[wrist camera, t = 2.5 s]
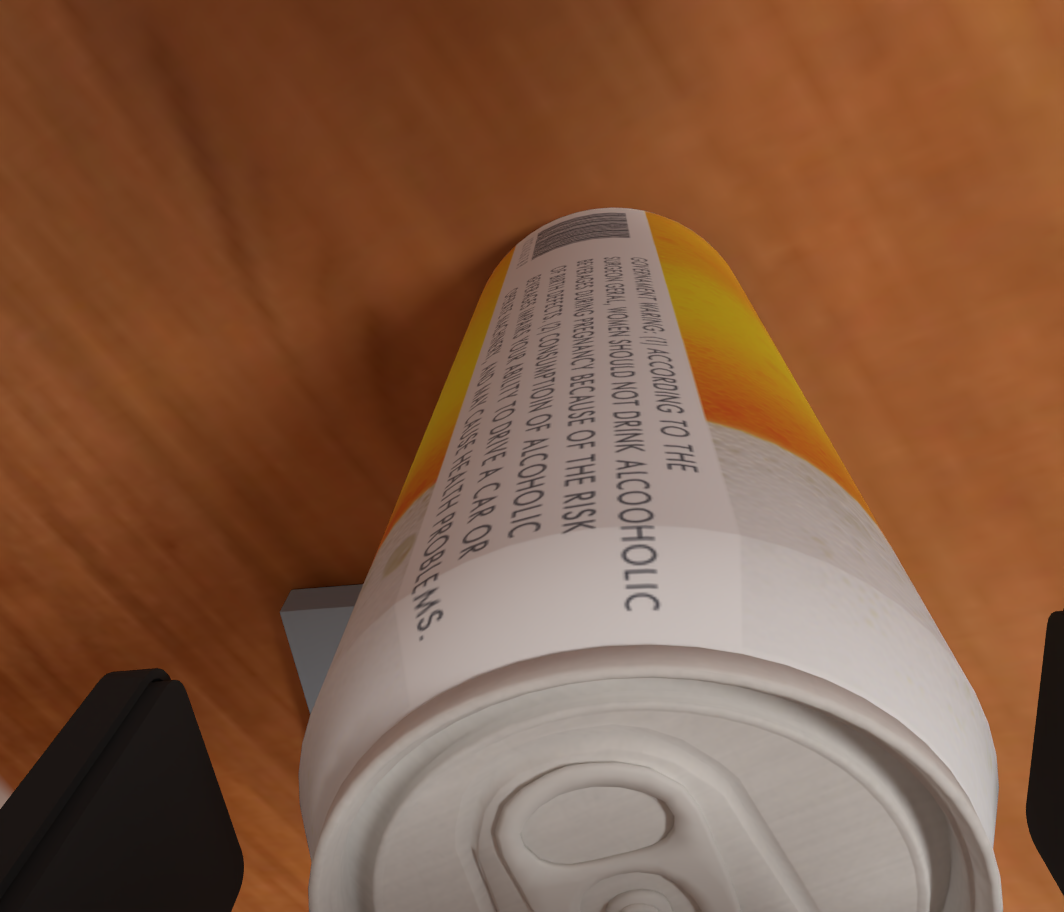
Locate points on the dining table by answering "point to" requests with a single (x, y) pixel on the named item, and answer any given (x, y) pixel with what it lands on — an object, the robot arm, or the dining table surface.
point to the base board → (317, 631)
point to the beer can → (639, 630)
